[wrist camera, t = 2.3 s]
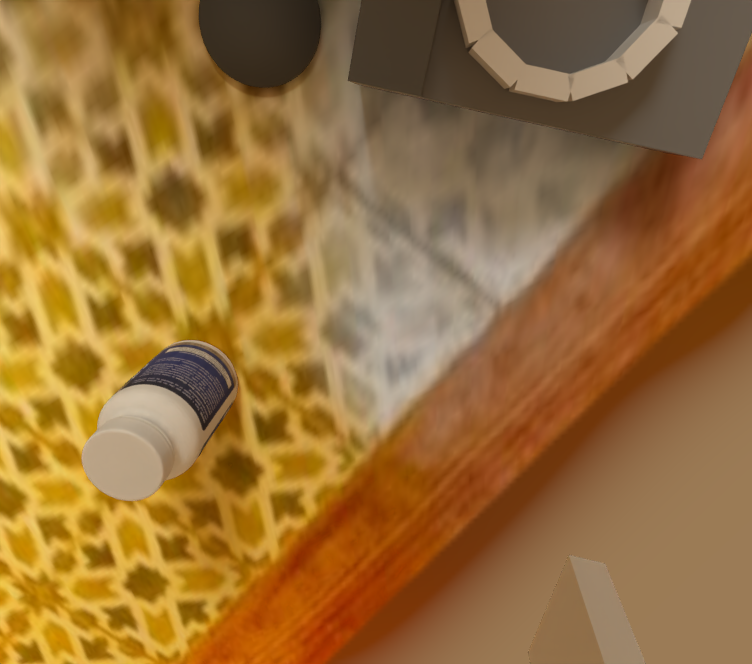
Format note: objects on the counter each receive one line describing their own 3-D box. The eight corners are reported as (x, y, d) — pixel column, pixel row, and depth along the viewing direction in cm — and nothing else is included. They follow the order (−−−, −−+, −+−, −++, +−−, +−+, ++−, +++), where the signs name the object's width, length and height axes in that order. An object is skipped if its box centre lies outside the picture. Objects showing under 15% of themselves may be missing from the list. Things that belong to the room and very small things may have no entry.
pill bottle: (155, 330, 36) (63, 406, 27) (242, 345, 36) (179, 426, 27) (154, 408, 38) (68, 503, 29) (237, 422, 38) (176, 523, 29)
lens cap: (188, 53, 31) (182, 52, 30) (229, -71, 28) (224, -75, 28) (293, 108, 31) (290, 108, 30) (341, -9, 29) (339, -12, 28)
